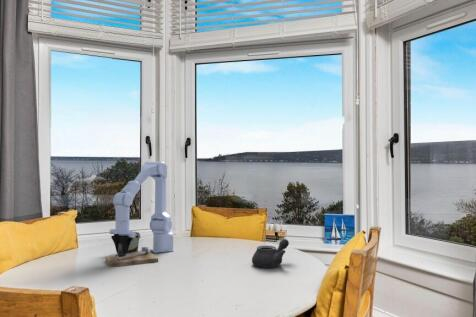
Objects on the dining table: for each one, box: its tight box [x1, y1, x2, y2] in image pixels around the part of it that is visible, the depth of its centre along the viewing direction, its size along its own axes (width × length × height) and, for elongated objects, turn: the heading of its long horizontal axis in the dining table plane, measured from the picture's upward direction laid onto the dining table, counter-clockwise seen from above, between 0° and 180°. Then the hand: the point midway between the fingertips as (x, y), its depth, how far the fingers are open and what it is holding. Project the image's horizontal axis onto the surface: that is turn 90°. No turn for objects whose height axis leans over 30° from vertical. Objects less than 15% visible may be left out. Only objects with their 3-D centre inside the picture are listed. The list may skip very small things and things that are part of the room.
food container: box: [116, 231, 141, 256], centre depth 182 cm, size 12×6×10 cm, turn 84°
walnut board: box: [105, 252, 159, 268], centre depth 168 cm, size 20×12×2 cm, turn 118°
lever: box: [115, 242, 150, 260], centre depth 170 cm, size 16×3×7 cm, turn 146°
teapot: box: [251, 238, 290, 269], centre depth 165 cm, size 19×15×10 cm
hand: (122, 252), depth 165 cm, fingers open, 3 cm apart
